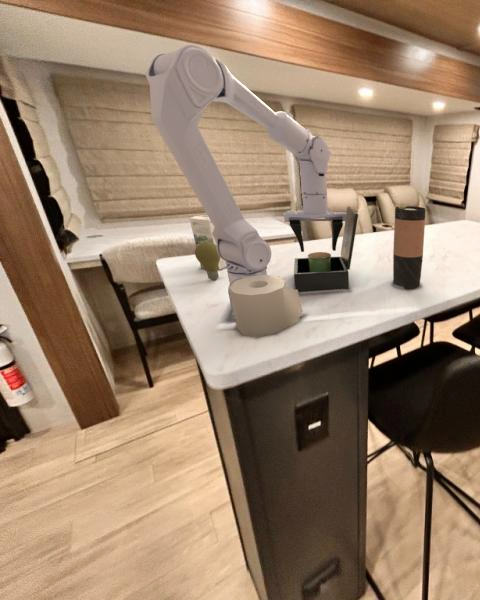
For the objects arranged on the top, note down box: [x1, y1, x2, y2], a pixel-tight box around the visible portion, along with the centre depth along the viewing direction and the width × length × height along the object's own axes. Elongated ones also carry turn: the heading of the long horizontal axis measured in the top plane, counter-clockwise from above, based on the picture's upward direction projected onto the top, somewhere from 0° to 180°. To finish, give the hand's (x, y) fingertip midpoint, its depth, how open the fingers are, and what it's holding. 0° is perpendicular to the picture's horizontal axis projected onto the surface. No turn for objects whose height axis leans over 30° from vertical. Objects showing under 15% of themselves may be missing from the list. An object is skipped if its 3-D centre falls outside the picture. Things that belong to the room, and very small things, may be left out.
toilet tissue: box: [228, 274, 304, 338], centre depth 60 cm, size 9×13×9 cm
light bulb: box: [194, 242, 220, 281], centre depth 79 cm, size 6×6×10 cm
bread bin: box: [293, 256, 350, 293], centre depth 80 cm, size 13×14×5 cm
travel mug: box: [392, 205, 426, 290], centre depth 79 cm, size 8×8×20 cm
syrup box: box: [189, 214, 227, 270], centre depth 88 cm, size 6×6×14 cm
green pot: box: [307, 251, 332, 272], centre depth 80 cm, size 6×6×7 cm
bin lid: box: [340, 205, 359, 271], centre depth 78 cm, size 13×14×1 cm
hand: (318, 250), depth 78 cm, fingers open, 7 cm apart
